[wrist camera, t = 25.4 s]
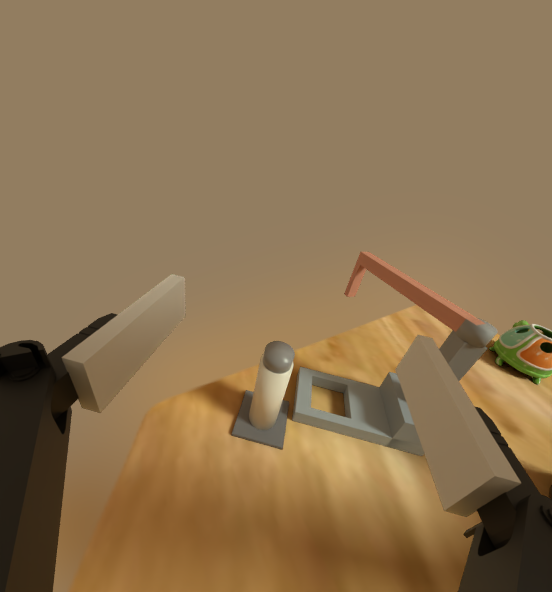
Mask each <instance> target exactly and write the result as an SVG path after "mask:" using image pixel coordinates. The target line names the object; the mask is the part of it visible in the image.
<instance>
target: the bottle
mask: <svg viewBox="0 0 552 592" xmlns="http://www.w3.org/2000/svg"><path fill="white" fill-rule="evenodd" d="M294 355H295V354H294V350H293V348H292V347H291V346H290V345H288V344H286V343H284V342H281V341H273V342H270V343H269V344H267V346H266V348H265V352H264V354H263V355H262V357H261V361H260V365H259V370H258V375H257V379H256V384H255V389H254V393H253V398H252V403H251V408H250V412H249V420H250V422H251V424H252V425H253V426H254V427H255V428H256V429H259V430H268V429H270V428H272V427H273V426H274V425H275V423H276V420H277V416H278V413H279V410H280V407H281V404H282V401H283V398H284V395H285V391H286V388H287V385H288V382H289V379H290V376H291V373H292V369H293V359H294Z"/></svg>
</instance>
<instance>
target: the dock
mask: <svg viewBox="0 0 552 592" xmlns="http://www.w3.org/2000/svg"><path fill="white" fill-rule="evenodd" d="M439 350H440V352H441V353H442V355H443V357H444V358H445V360H446V361H447V363H448V365H449V366H450V368H451V370H452V371H453V373H454V374H455V376H456V378H457V379H458V381H460V379H461V378H462V377H463V376H464V375H465V374H466V373H467V371H468V370H469V369H470V368H471V367H472V366H473V365H474V363H475V362H476V361H477V360H478V359H479V358H480V357H481V356H482V354H483V353H484V352H485V351H486V350H487V348H486V346H485V347H484V348H478V347H474V346H472V345H470V344H468V343H466V342H464V341H463V340H461V339H460V338H459V337H458V336H457V335H456V333H455V331H454V330H453V331H452V332H451V334H450V335H449V337H448V338H447V339H446V341H445V342H444V343H443V345H442V346H441V347H440V349H439ZM312 385H315V386H319V387H322V388H326V389H330V390H334V391H337V392H341V393H343V394H344V405H345V416H346V417H343V416H339V415H336V414H332V413H328V412H325V411H321V410H317V409H314V408H311V390H312ZM292 421H296V422H299V423H303V424H307V425H310V426H314V427H318V428H321V429H325V430H328V431H332V432H336V433H339V434H343V435H347V436H350V437H354V438H358V439H361V440H365V441H369V442H372V443H376V444H379V445H383V446H387V447H390V448H394V449H398V450H401V451H405V452H409V453H412V454H416V455H419V456H423V455H424V451H423V448H422V445H421V442H420V439H419V436H418V434H417V431H416V428H415V425H414V422H413V419H412V416H411V413H410V411H409V408H408V405H407V402H406V399H405V396H404V393H403V390H402V388H401V385H400V382H399V379H398V376H397V374H395V373H391V372H389V373H388V375H387V376H386V378H385V379H384V381H383V383H382V384H381V386H380V387H376V386H372V385H369V384H365V383H361V382H357V381H353V380H349V379H346V378H342V377H338V376H334V375H330V374H327V373H323V372H319V371H315V370H311V369H308V368H304V367H300V369H299V372H298V375H297V383H296V392H295V400H294V409H293V418H292Z"/></svg>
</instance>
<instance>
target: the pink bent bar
mask: <svg viewBox="0 0 552 592" xmlns="http://www.w3.org/2000/svg"><path fill="white" fill-rule="evenodd" d="M366 269H367V270H368V271H370V272H371V273H373V274H374V275H375V276H377V277H378V278H380V279H381V280H383V281H384V282H385V283H387V284H388V285H390V286H391V287H393V288H394V289H396V290H397V291H398V292H400V293H401V294H403V295H404V296H406V297H407V298H408V299H410V300H411V301H413V302H414V303H415V304H417V305H418V306H419V307H421V308H422V309H424V310H425V311H427V312H428V313H429V314H431V315H432V316H434V317H435V318H437V319H438V320H439V321H441V322H442V323H444V324H445V325H446V326H448V327H449V328H451V329H452V330H454V331H455V333H456V335H457V336H458V337H459V338H460V339H461V340H463V341H464V342H466V343H468V344H470V345H472V346H474V347H478V348H484V347H485V346H486V345H487V344H488V343H489V342H490V341H491V339H492V338H493V337H494V336H495V335H496V334H497V329H496V328H495V327H493V326H492V325H491V324H489V323H488V322H485V321H484V320H482V319H479V318H476V317H474V316H473V315H471V314H469V313H468V312H466V311H464V310H463V309H461V308H460V307H458V306H456V305H455V304H453V303H451V302H450V301H448V300H446V299H445V298H443V297H441V296H440V295H438V294H437V293H435V292H433V291H432V290H430V289H428V288H427V287H425V286H424V285H422V284H420V283H419V282H417V281H415V280H414V279H412V278H410V277H409V276H407V275H406V274H404V273H402V272H401V271H399V270H397V269H396V268H394V267H393V266H391V265H389V264H388V263H386V262H384V261H383V260H381V259H379V258H378V257H376V256H375V255H373V254H371V253H370V252H360V255H359V258H358V260H357V263H356V265H355V268H354V270H353V273H352V276H351V278H350V281H349V283H348V286H347V288H346V291H345V293H344V294H345V295H346V296H347V297H351V296H355V295H356V293H357V290H358V288H359V286H360V283H361V281H362V278H363V275H364V274H365V271H366Z"/></svg>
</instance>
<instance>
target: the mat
mask: <svg viewBox="0 0 552 592" xmlns="http://www.w3.org/2000/svg"><path fill="white" fill-rule="evenodd" d="M253 393H254V392H251V391H247V390H246V392H245V395H244V399H243V402H242V405H241V408H240V411H239V414H238V417H237V420H236V423H235V426H234V429H233V432H232V436H236V437H239V438H243V439H246V440H250V441H253V442H257V443H260V444H264V445H268V446H271V447H275V448H278V449H283V443H284V436H285V428H286V421H287V414H288V407H289V402H288V401H284V400H283V401H282V404H281V407H280V410H279V413H278V416H277V420H276V423H275V425H274V426H273V427H272V428H270V429H268V430H259V429H256V428H255V427H254V426H253V425H252V424H251V422H250V420H249V412H250V408H251V403H252V398H253Z"/></svg>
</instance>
